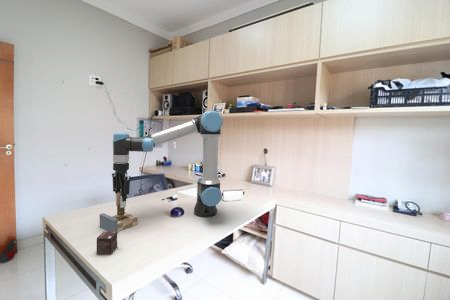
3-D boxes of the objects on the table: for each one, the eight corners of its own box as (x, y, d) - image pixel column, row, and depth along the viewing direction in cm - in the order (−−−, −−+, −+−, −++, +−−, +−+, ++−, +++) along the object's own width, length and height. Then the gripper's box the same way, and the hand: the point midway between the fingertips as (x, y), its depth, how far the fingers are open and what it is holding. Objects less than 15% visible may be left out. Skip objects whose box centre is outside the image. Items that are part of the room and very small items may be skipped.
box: (103, 247, 92) (103, 231, 92) (117, 247, 93) (117, 231, 92) (96, 255, 86) (96, 238, 86) (111, 255, 87) (111, 238, 86)
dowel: (119, 216, 109) (119, 193, 108) (115, 214, 110) (115, 192, 109) (126, 213, 112) (126, 192, 111) (122, 212, 113) (122, 190, 112)
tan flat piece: (137, 224, 113) (137, 217, 113) (116, 232, 104) (116, 224, 103) (124, 219, 119) (125, 212, 119) (104, 226, 110) (104, 218, 109)
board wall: (157, 219, 123) (157, 206, 122) (110, 239, 99) (110, 222, 99) (141, 213, 131) (141, 201, 130) (94, 230, 107) (94, 215, 106)
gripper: (137, 163, 108) (136, 207, 109) (119, 160, 116) (118, 201, 118) (123, 165, 101) (123, 211, 103) (105, 161, 110) (105, 204, 112)
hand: (120, 206), depth 111 cm, fingers closed on dowel, 3 cm apart
